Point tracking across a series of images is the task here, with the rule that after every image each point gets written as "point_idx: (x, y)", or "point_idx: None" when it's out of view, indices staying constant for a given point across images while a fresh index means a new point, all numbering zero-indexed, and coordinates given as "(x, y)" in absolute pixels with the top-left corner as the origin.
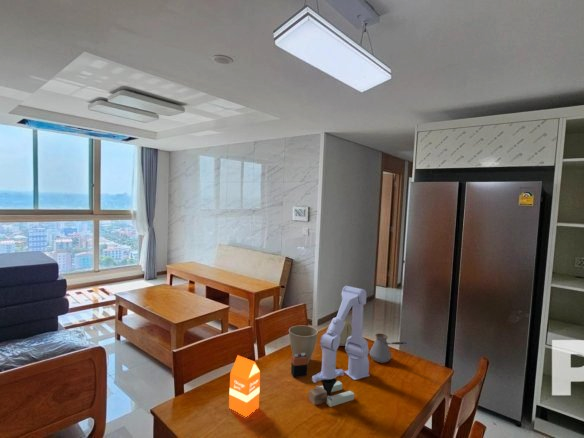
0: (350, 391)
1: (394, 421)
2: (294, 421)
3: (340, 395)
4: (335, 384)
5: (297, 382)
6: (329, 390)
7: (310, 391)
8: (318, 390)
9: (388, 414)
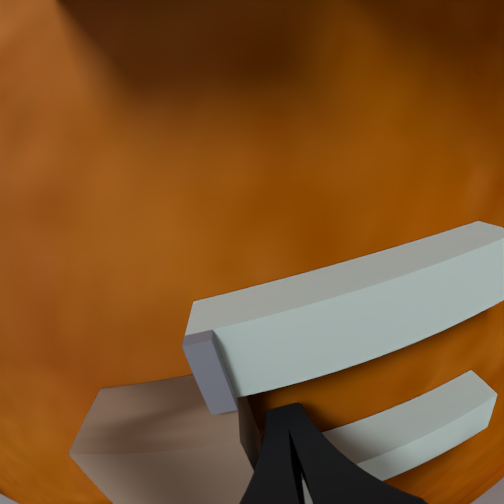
0: (488, 408)
1: (472, 491)
2: (36, 488)
3: (389, 464)
4: (462, 302)
5: (45, 63)
6: (308, 490)
7: (80, 463)
8: (173, 482)
9: (489, 467)
